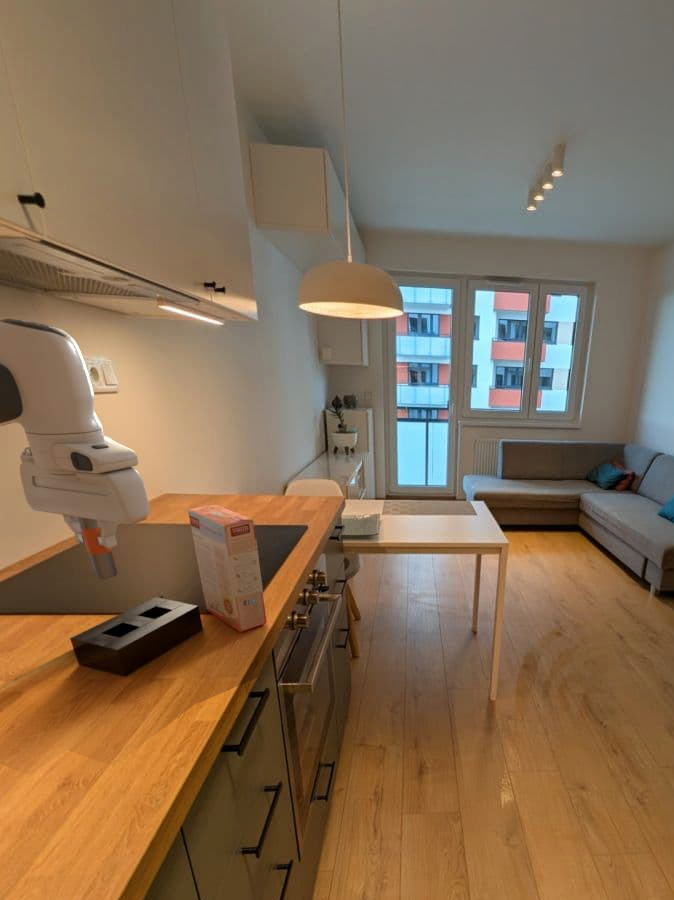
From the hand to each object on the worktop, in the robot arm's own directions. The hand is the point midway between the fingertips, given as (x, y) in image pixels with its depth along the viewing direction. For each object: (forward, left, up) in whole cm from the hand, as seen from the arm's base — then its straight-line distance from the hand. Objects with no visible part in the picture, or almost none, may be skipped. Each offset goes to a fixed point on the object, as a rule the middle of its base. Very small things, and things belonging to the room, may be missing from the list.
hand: (97, 544), depth 77 cm
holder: (0, +3, -20) cm, 20 cm away
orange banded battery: (0, 0, -5) cm, 5 cm away
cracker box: (+7, +18, -20) cm, 28 cm away
